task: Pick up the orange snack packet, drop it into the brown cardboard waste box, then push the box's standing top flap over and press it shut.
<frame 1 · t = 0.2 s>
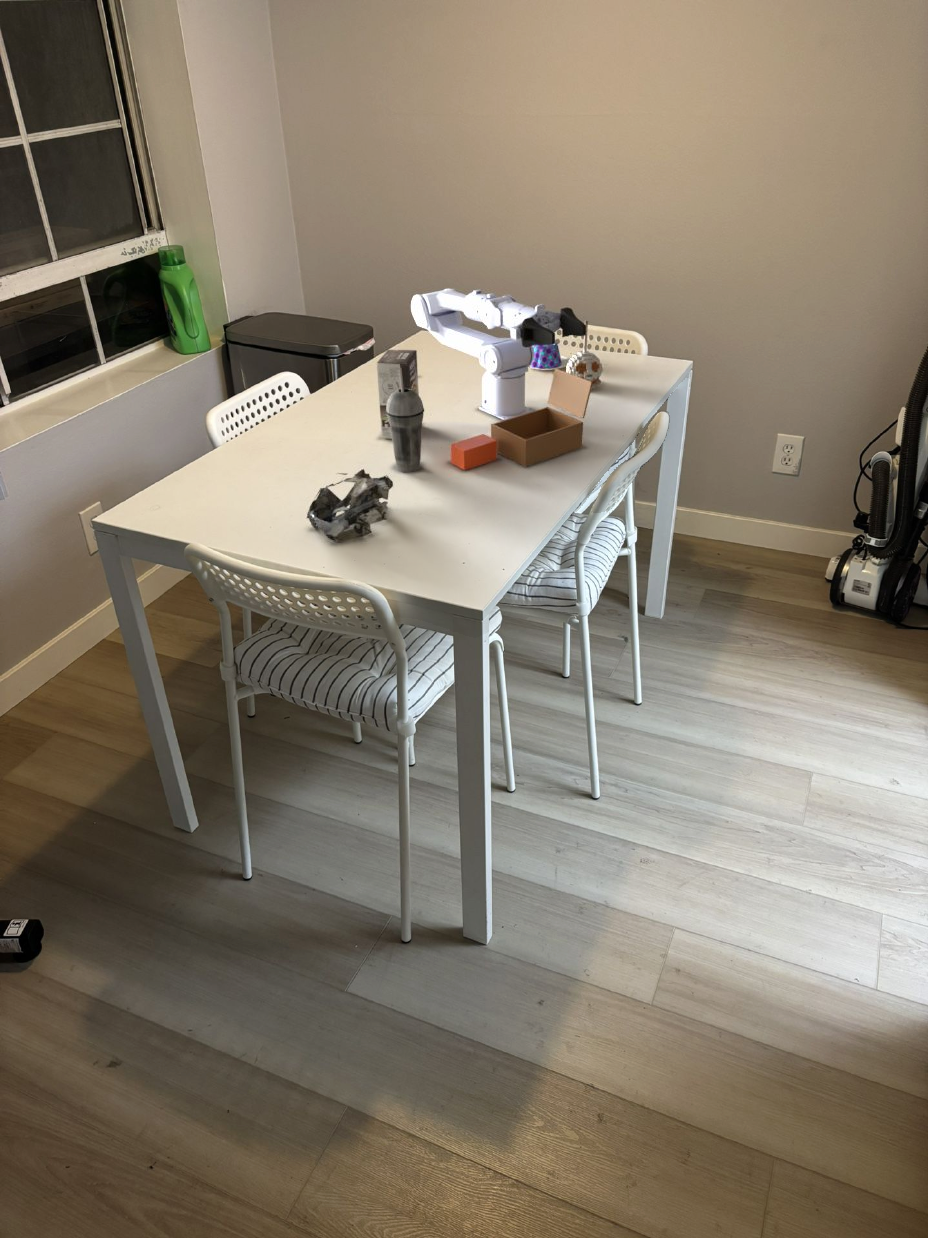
hand: (569, 334, 183), 22 cm above the table, tool horizontal, fingers open, 7 cm apart
foil: (352, 525, 166), on the table
beverage cup: (408, 467, 185), on the table
coffee box: (401, 432, 201), on the table
decorative ornament: (583, 386, 221), on the table
waste box: (536, 448, 191), on the table
flap: (569, 393, 190), point 10 cm above the table, hinge at 105.0°
packet: (474, 461, 187), on the table
pudding: (545, 365, 234), on the table
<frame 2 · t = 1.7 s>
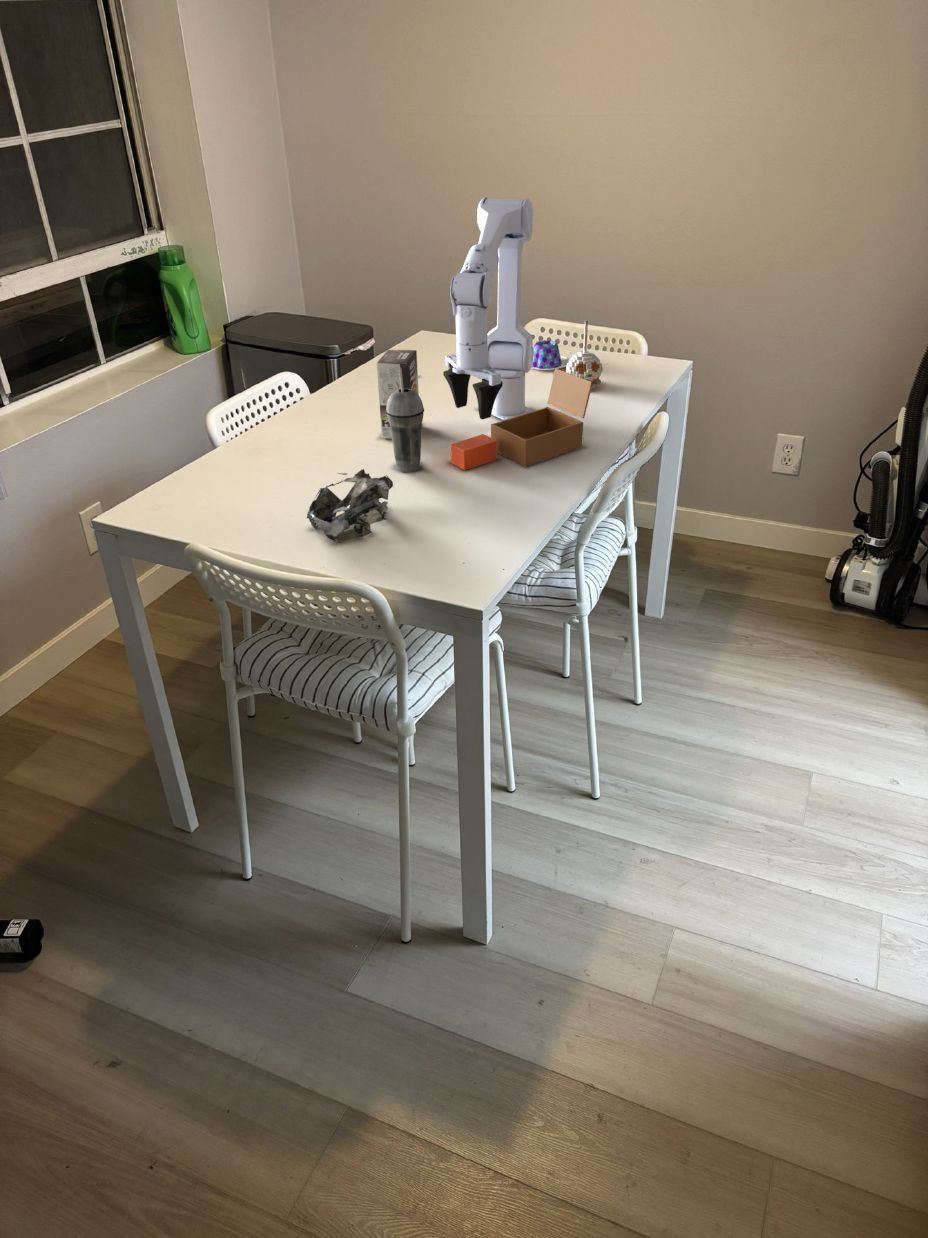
hand: (473, 412, 181), 10 cm above the table, tool pointing down, fingers open, 7 cm apart
nothing on the table moved.
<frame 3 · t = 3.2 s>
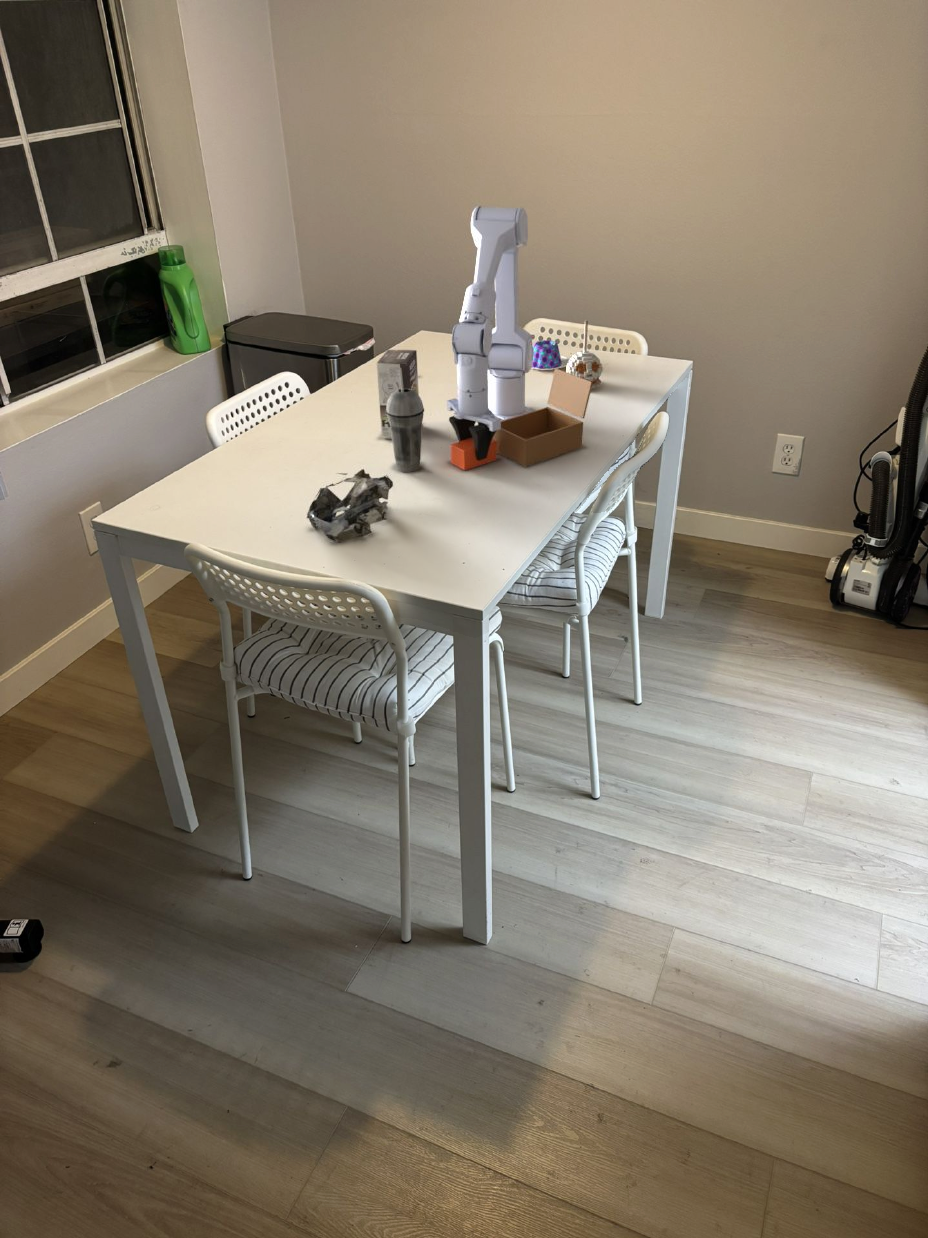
hand: (473, 454, 186), 1 cm above the table, tool pointing down, fingers closed on packet, 4 cm apart
packet: (474, 461, 187), on the table, touching gripper
everything else where it was.
when the fingers open (2 cm above the table, at t = 7.7 s): packet stays where it is, resting on waste box.
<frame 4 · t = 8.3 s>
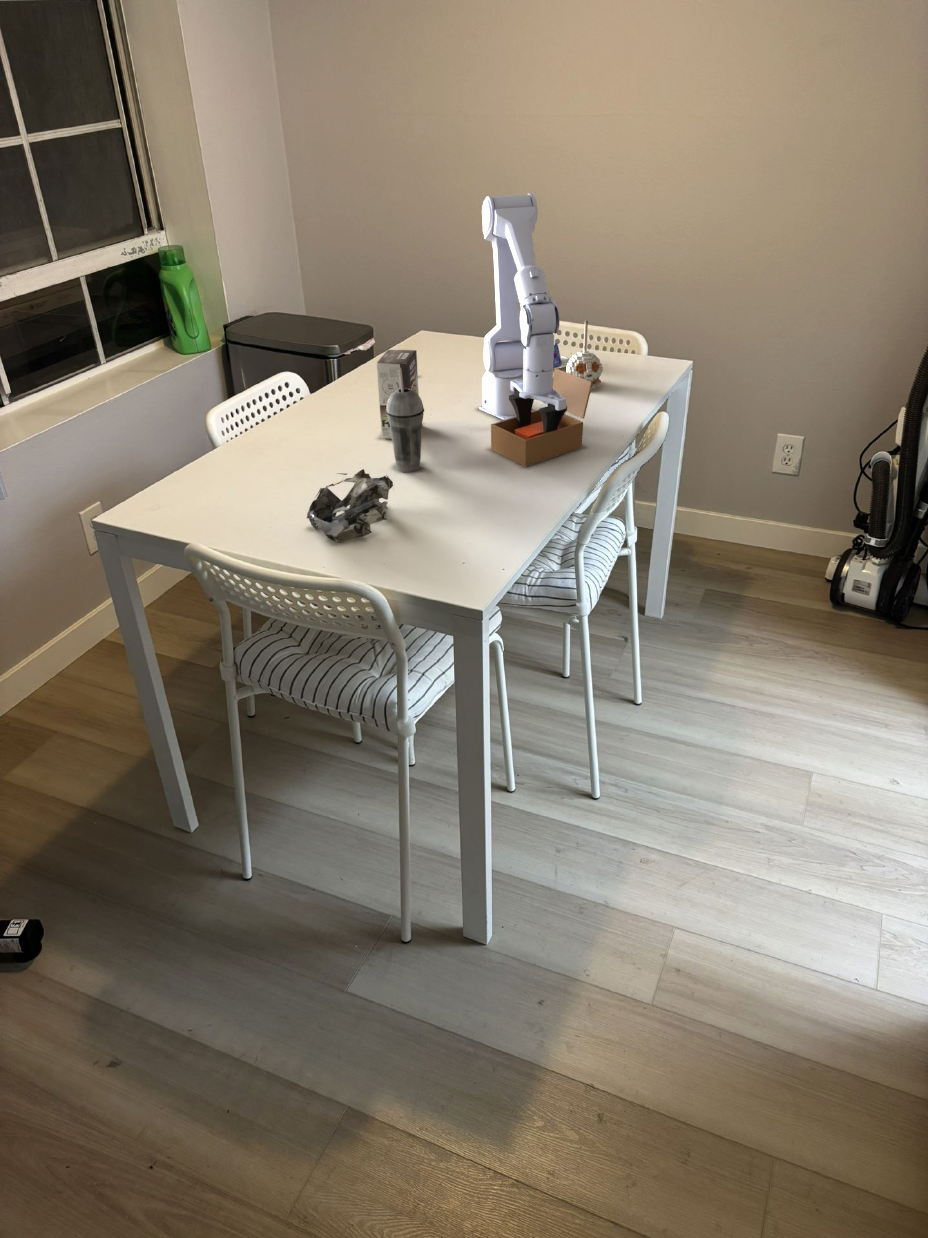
hand: (536, 434, 190), 3 cm above the table, tool pointing down, fingers open, 7 cm apart
packet: (536, 446, 191), resting on waste box
everything else where it was.
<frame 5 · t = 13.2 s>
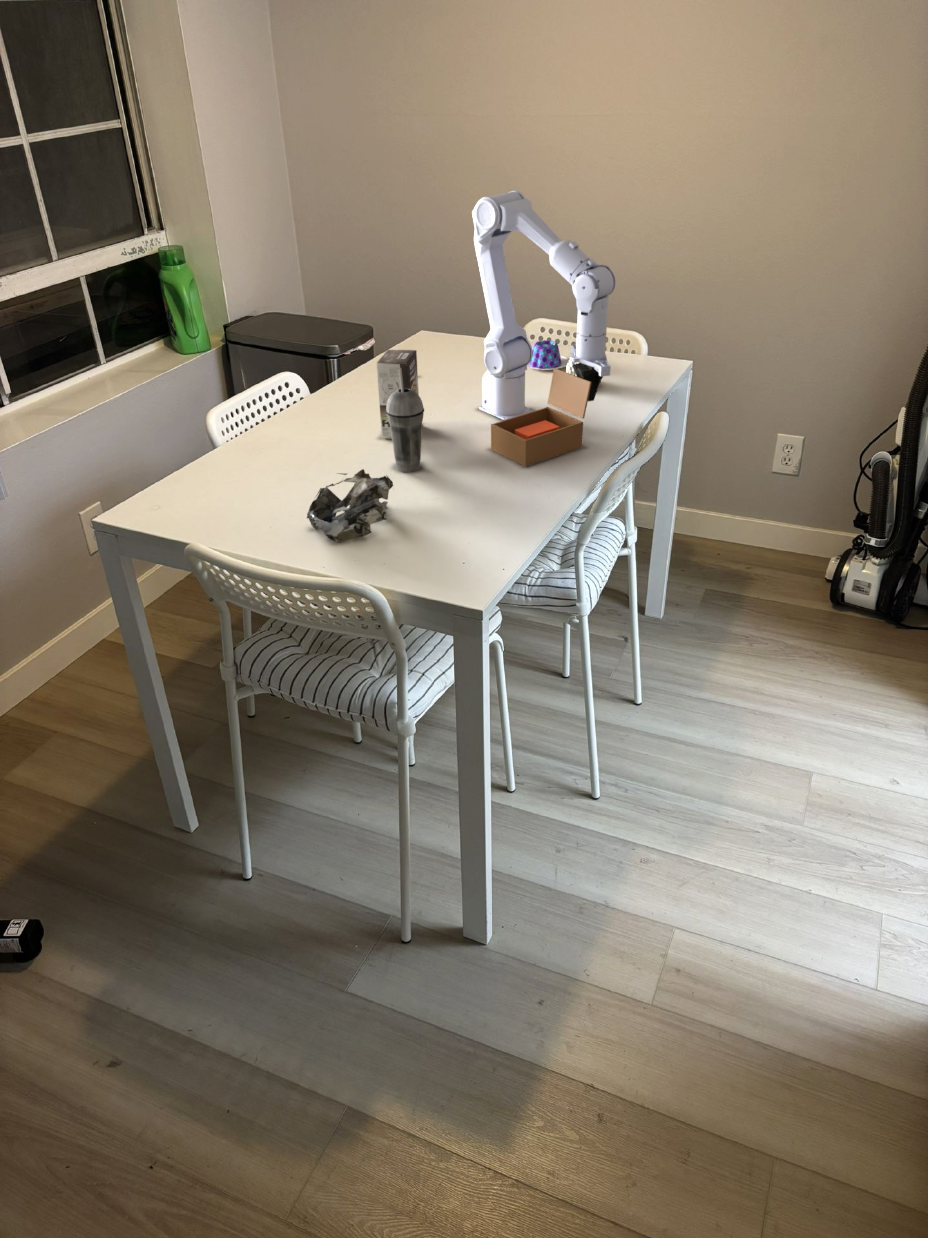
hand: (588, 400, 192), 8 cm above the table, tool pointing down, fingers closed
flap: (568, 393, 190), point 10 cm above the table, hinge at 102.4°, touching gripper
everything else where it was.
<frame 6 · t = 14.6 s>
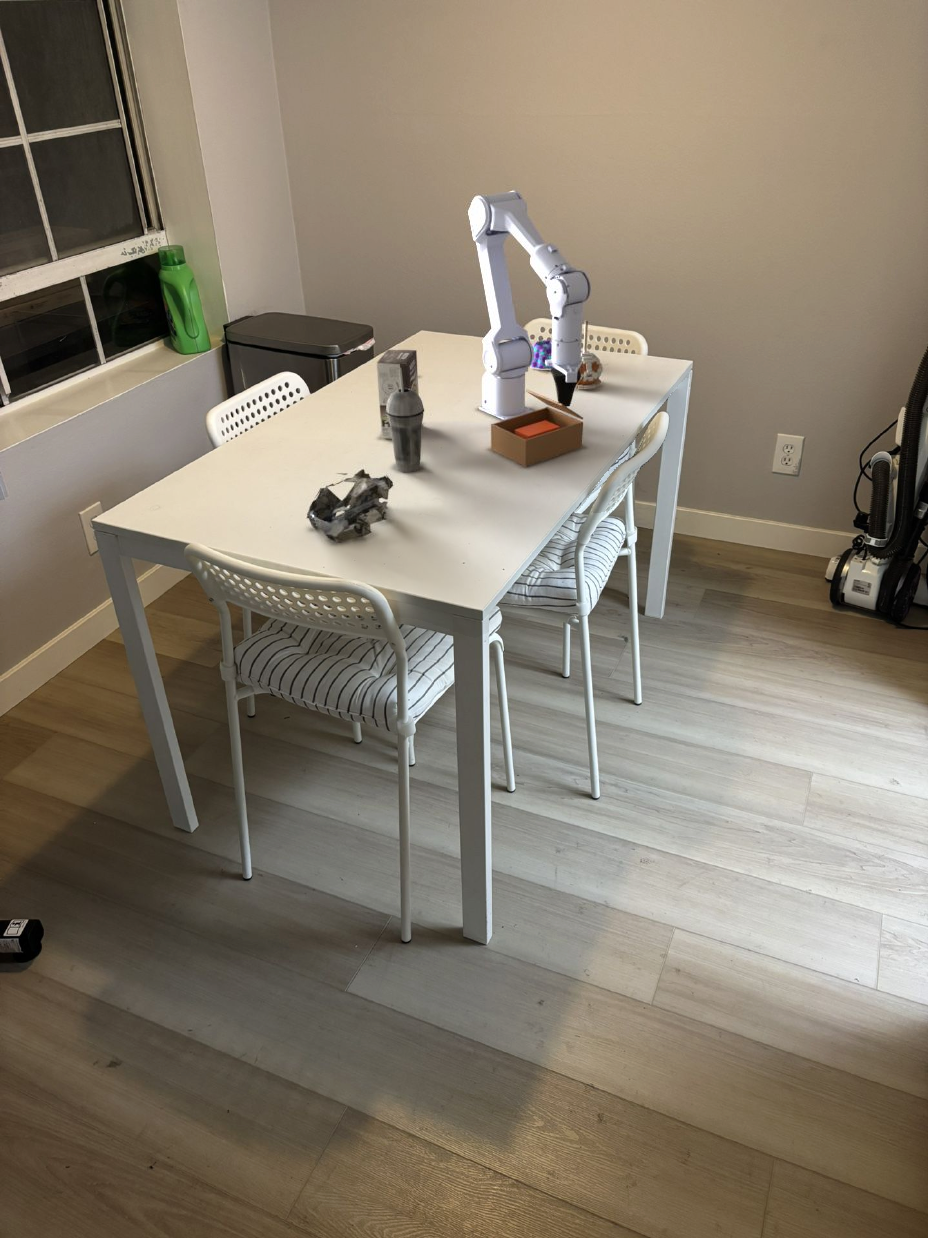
hand: (564, 405, 191), 7 cm above the table, tool pointing down, fingers closed
flap: (554, 404, 189), point 8 cm above the table, hinge at 36.2°
everything else where it was.
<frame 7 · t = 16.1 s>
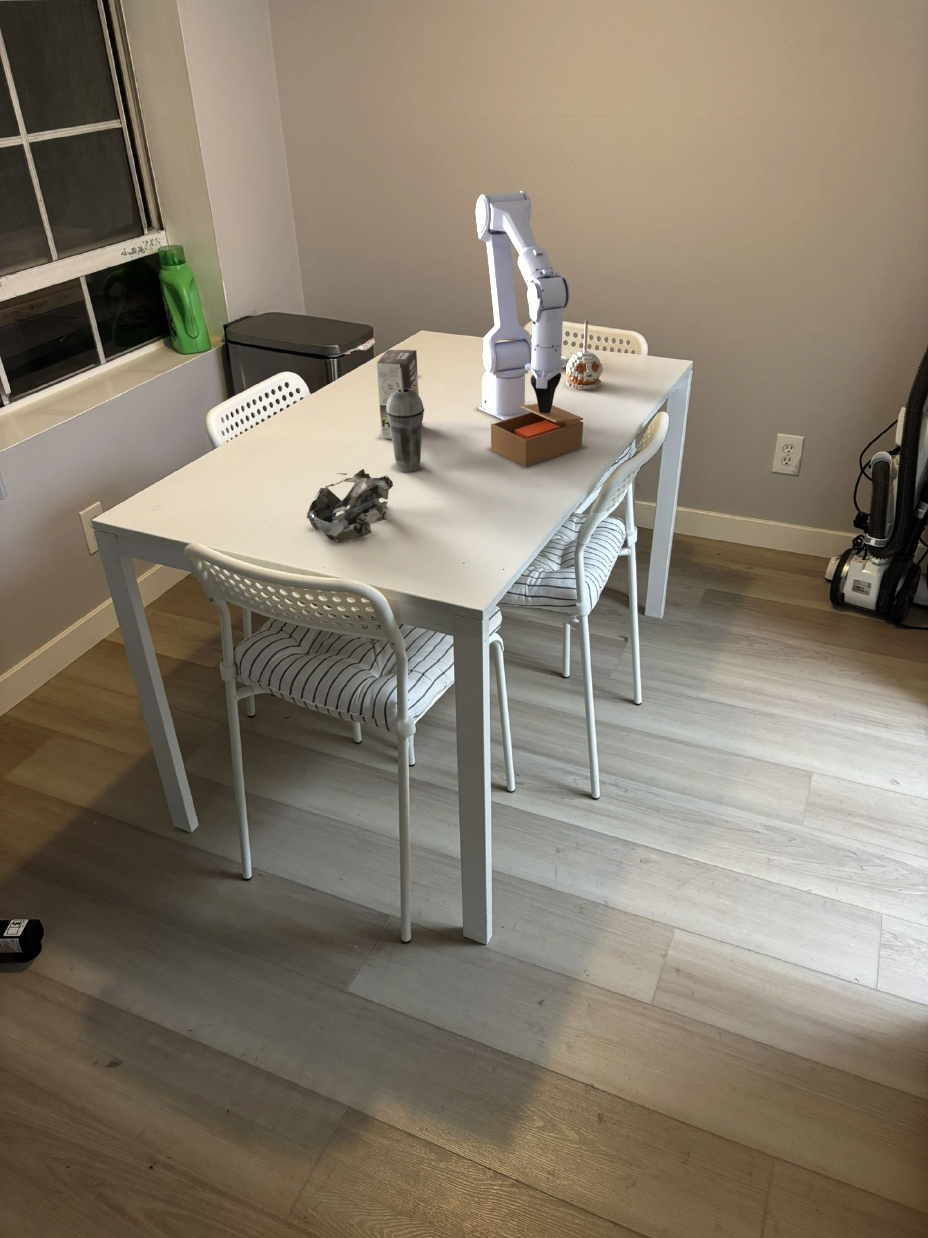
hand: (545, 411, 188), 7 cm above the table, tool pointing down, fingers closed
flap: (551, 412, 190), point 7 cm above the table, hinge at 9.8°, touching gripper
everything else where it was.
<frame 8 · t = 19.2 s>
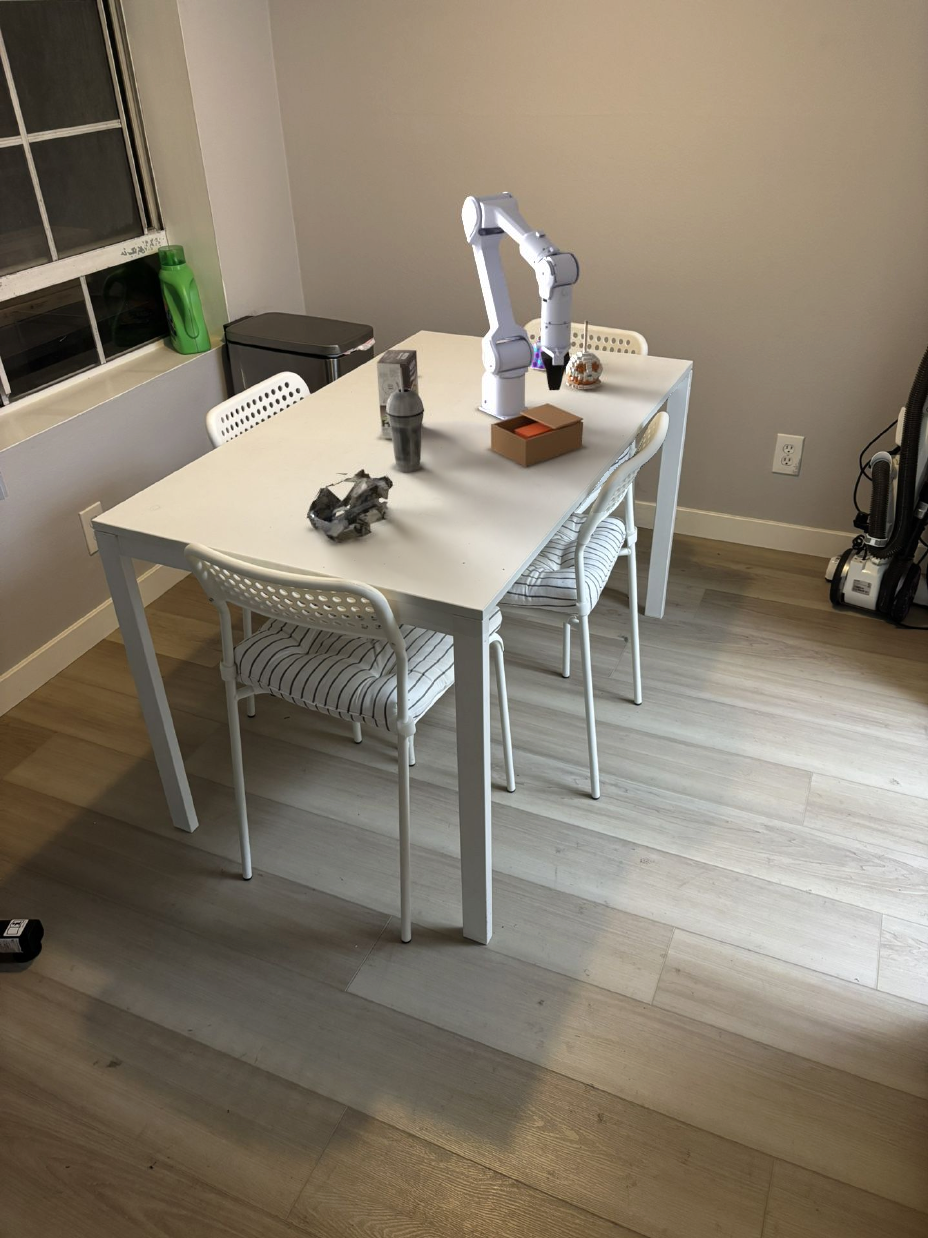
hand: (554, 389, 190), 10 cm above the table, tool pointing down, fingers closed
flap: (551, 415, 190), point 6 cm above the table, hinge at -0.5°
everything else where it was.
at the end: packet inside the target area in the waste box (0.1 cm from its centre), point 0.4 cm above the waste box's base; flap at +0° (first picture: +105°) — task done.
